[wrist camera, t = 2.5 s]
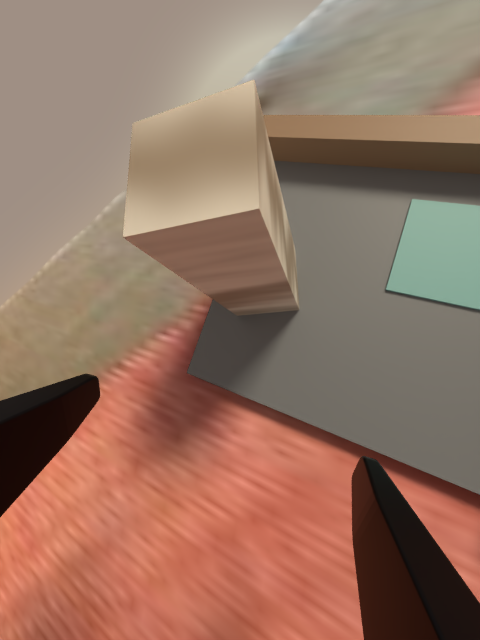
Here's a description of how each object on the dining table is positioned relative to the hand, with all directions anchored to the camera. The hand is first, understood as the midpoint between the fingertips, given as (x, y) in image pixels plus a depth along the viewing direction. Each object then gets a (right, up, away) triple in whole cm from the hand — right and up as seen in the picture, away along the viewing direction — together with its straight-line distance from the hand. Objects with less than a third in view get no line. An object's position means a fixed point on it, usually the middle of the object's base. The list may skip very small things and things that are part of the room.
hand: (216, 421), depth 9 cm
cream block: (+3, +6, +13) cm, 15 cm away
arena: (+11, +6, +11) cm, 17 cm away
